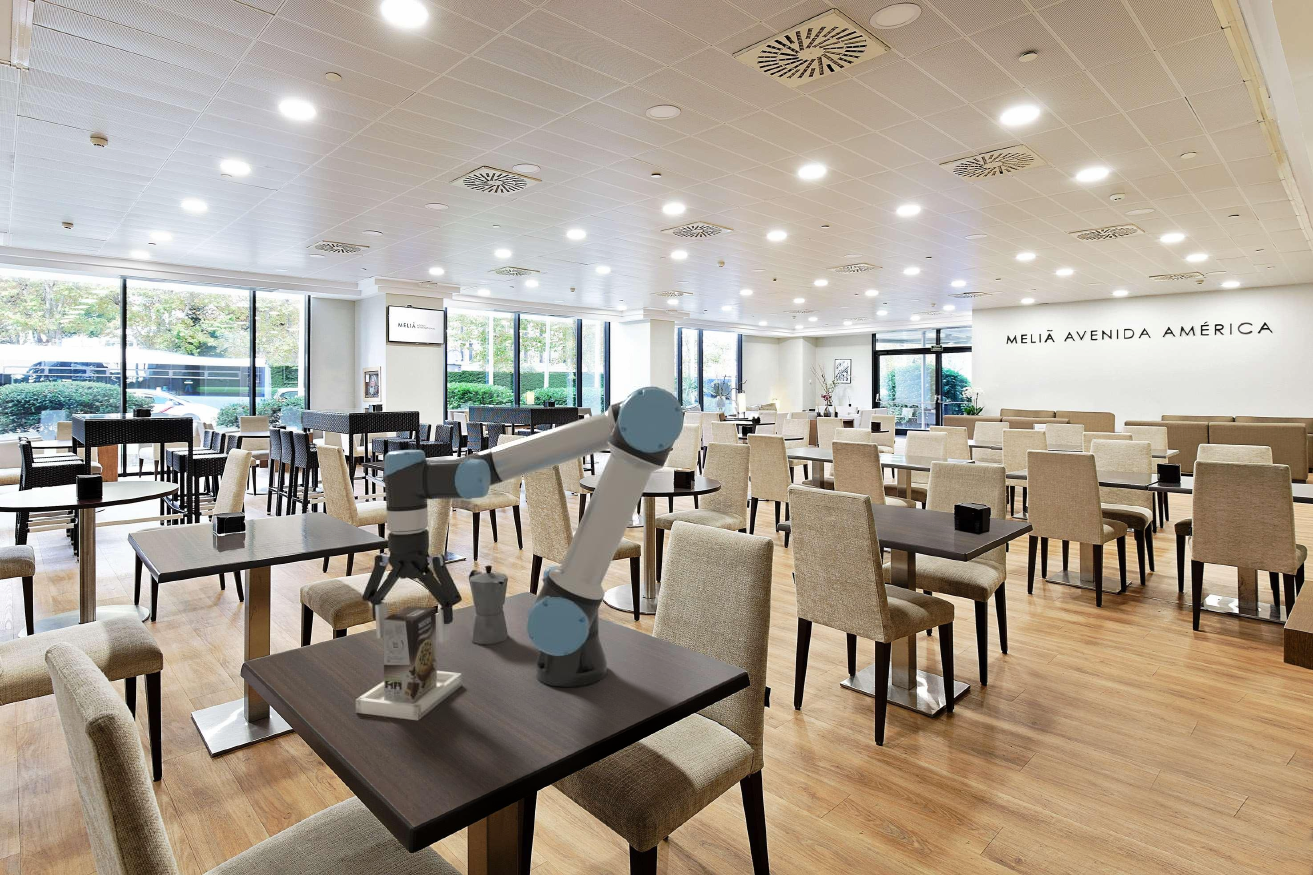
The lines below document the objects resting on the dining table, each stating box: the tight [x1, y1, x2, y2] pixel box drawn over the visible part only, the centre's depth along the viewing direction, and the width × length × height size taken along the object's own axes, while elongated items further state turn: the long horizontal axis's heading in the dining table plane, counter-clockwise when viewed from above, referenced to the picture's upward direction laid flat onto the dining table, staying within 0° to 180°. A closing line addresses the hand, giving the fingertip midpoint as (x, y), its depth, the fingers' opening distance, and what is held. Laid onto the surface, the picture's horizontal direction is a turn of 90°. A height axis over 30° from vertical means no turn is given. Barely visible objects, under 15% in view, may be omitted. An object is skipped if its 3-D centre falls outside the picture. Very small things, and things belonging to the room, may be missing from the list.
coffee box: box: [383, 605, 438, 704], centre depth 138 cm, size 9×6×16 cm
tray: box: [355, 670, 463, 721], centre depth 138 cm, size 13×16×2 cm
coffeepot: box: [468, 565, 509, 645], centre depth 173 cm, size 15×9×18 cm, turn 44°
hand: (413, 638), depth 137 cm, fingers open, 13 cm apart
